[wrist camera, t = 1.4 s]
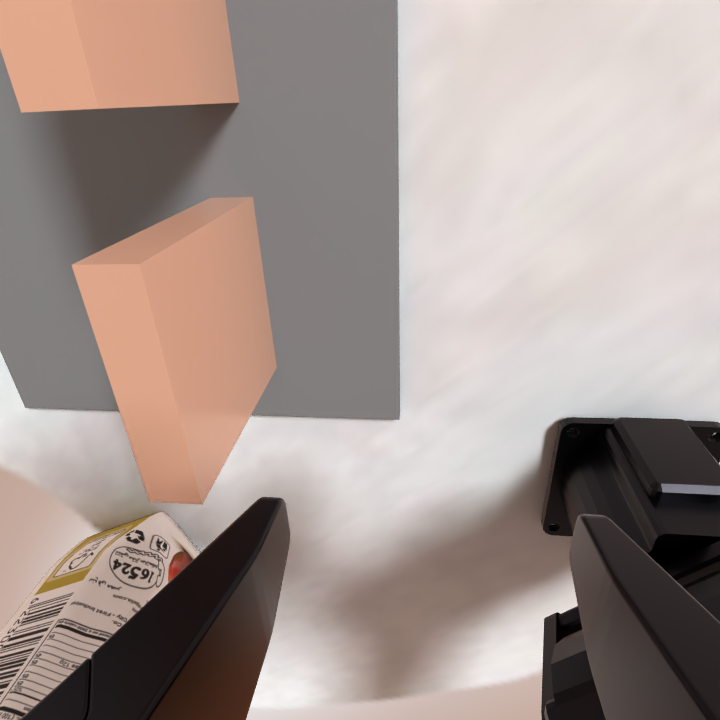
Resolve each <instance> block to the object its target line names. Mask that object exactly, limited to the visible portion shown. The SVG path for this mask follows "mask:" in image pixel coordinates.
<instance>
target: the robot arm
mask: <svg viewBox="0 0 720 720" xmlns="http://www.w3.org/2000/svg"><path fill="white" fill-rule="evenodd" d="M570 428H576V430H575V431H573V432H567V431H568V430H569V429H570ZM716 432H717V433H716ZM713 433H716V434H715V435H713V436H710V435H711V434H713ZM709 436H710V437H709ZM719 462H720V423H718V422H709V421H684V420H681V419H652V418H618V419H609V418H576V417H572V418H566V419H564V420H563V421H562V422H561V423H560V424H559V426H558V431H557V437H556V442H555V448H554V453H553V459H552V464H551V470H550V476H549V481H548V487H547V492H546V498H545V503H544V509H543V514H542V520H541V522H542V526H543V530H544V531H545V533H547V534H550V535H559V536H573V538H572V542H571V546H570V565H571V571H572V576H573V581H574V587H575V592H576V597H577V603H578V606H577V607H574V608H572V609H570V610H568V611H566V612H564V613H562V614H560V613H558V612H557V613H555V614H552V615H550V616H548V617H546V618H545V619H544V646H543V678H542V710H541V713H542V720H720V465H719ZM551 524H555V525H551ZM289 543H290V529H289V522H288V516H287V509H286V503H285V501H284V500H283V499H282V498H274V497H262V498H260V499H258V500H257V501H256V502H255V503H254V504H253V505H252V506H250V507H249V508H248V509H247V510H246V511H245V512H244V513H243V514H242V515H241V516H240V517H239V518H238V519H236V520H235V521H234V522H233V523H232V524H231V525H230V526H229V527H228V528H227V529H226V530H225V531H224V532H223V533H221V534H220V535H219V536H218V537H217V538H216V539H215V540H214V541H213V542H212V543H211V544H210V545H209V546H207V547H206V548H205V549H204V550H203V551H202V552H201V553H200V554H199V555H198V556H197V557H196V558H195V559H194V560H192V561H191V562H190V563H189V564H188V565H187V566H186V567H185V568H184V569H183V570H182V571H181V572H180V573H178V574H177V575H176V576H175V577H174V578H173V579H172V580H171V581H170V582H169V583H168V584H167V585H166V586H164V587H163V588H162V589H161V590H160V591H159V592H158V593H157V594H156V595H155V596H154V597H153V598H152V599H151V600H149V601H148V602H147V603H146V604H145V605H144V606H143V607H142V608H141V609H140V610H139V611H138V612H137V613H135V614H134V615H133V616H132V617H131V618H130V619H129V620H128V621H127V622H126V623H125V624H124V625H123V626H122V627H120V628H119V629H118V630H117V631H116V632H115V633H114V634H113V635H112V636H111V637H110V638H109V639H108V640H106V641H105V642H104V643H103V644H102V645H101V646H100V647H99V648H98V649H97V650H96V651H95V652H94V653H93V654H92V656H91V659H86V660H85V661H84V662H83V663H81V664H80V665H79V666H78V667H77V668H76V669H75V670H74V671H73V672H72V673H71V674H70V675H69V676H67V677H66V678H65V679H64V680H63V681H62V682H61V683H60V684H59V685H58V686H57V687H55V688H54V689H53V690H52V691H51V692H50V693H49V694H48V695H46V696H45V697H44V698H43V699H42V700H41V701H40V702H39V703H38V704H36V705H35V706H34V707H33V708H32V709H31V710H30V711H29V712H27V713H26V714H25V715H24V716H23V717H22V718H21V719H19V720H246V717H247V714H248V711H249V708H250V704H251V701H252V698H253V695H254V691H255V688H256V685H257V681H258V678H259V675H260V672H261V668H262V665H263V662H264V659H265V655H266V652H267V649H268V645H269V642H270V638H271V635H272V631H273V626H274V621H275V617H276V611H277V606H278V601H279V596H280V591H281V585H282V580H283V575H284V570H285V565H286V559H287V554H288V549H289Z"/></svg>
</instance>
